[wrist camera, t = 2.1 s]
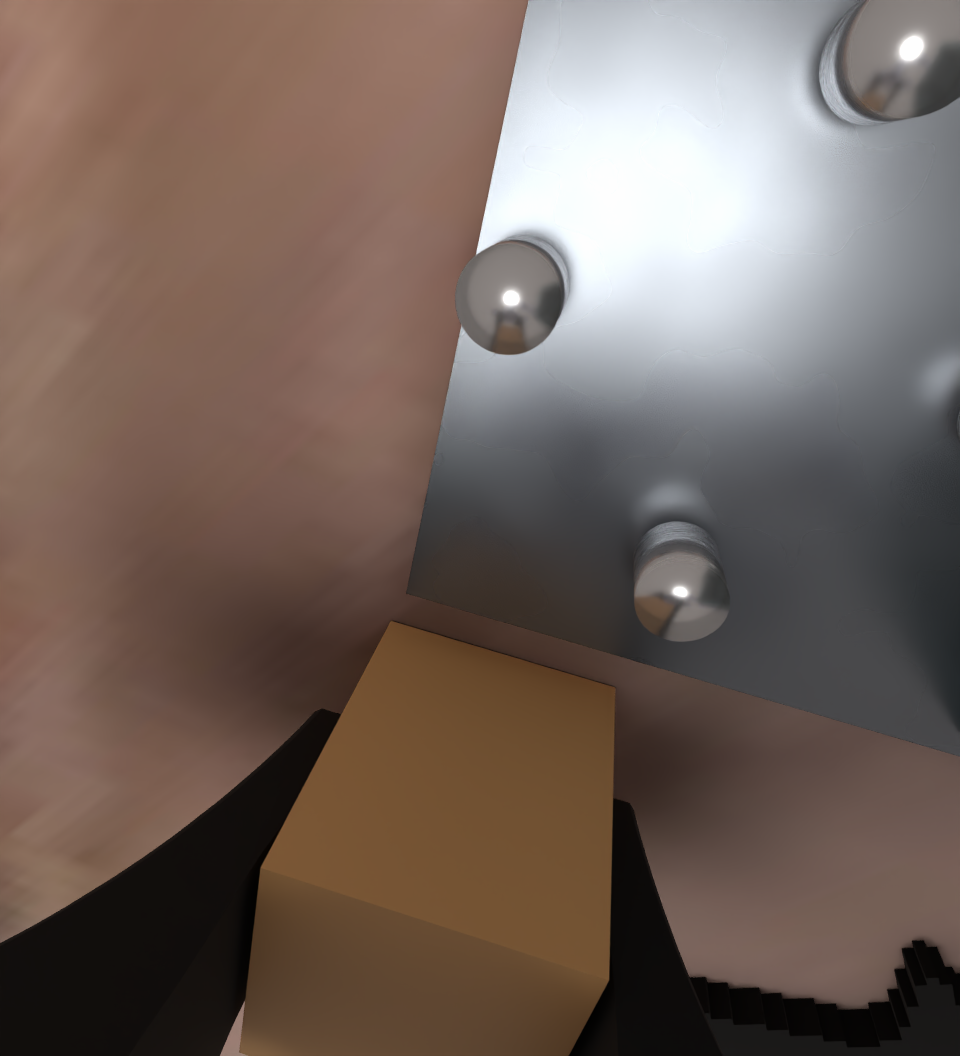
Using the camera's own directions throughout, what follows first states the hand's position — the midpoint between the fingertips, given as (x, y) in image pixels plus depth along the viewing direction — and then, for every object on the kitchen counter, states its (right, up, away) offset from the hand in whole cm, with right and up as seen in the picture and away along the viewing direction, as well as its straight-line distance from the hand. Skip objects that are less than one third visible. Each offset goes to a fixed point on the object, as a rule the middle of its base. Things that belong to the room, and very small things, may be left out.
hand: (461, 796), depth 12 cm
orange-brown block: (0, +1, +1) cm, 1 cm away
